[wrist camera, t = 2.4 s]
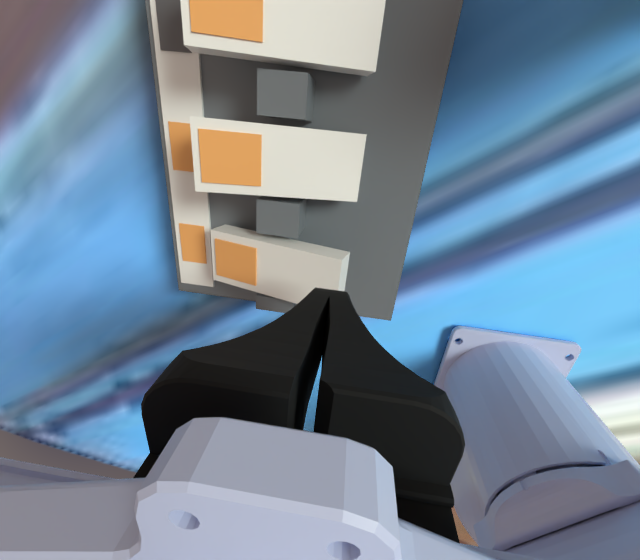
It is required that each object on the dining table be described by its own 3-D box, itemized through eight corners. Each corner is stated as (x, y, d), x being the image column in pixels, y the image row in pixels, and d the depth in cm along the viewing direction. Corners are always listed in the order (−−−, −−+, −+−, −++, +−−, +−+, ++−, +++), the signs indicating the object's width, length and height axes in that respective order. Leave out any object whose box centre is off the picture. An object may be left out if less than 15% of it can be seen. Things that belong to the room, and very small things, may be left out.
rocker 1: (367, 76, 13) (376, 71, 12) (191, 52, 12) (183, 44, 11) (378, -11, 12) (390, -25, 11) (184, -47, 11) (174, -67, 10)
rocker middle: (350, 196, 15) (357, 202, 14) (201, 186, 14) (194, 191, 13) (359, 133, 14) (367, 134, 13) (196, 116, 13) (188, 115, 12)
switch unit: (387, 300, 20) (394, 340, 16) (198, 273, 21) (159, 306, 17) (458, -33, 13) (501, -107, 9) (170, -52, 14) (94, -127, 10)
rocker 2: (342, 303, 16) (334, 315, 15) (227, 271, 18) (212, 280, 17) (350, 251, 14) (341, 260, 13) (225, 224, 17) (209, 229, 15)
